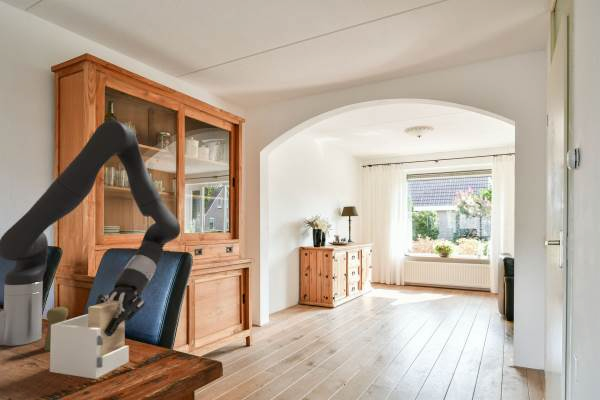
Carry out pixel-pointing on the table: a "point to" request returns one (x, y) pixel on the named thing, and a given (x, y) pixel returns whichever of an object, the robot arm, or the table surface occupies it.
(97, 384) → the table surface
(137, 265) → the robot arm
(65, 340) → the white open box
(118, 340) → the block
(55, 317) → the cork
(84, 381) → the table surface
